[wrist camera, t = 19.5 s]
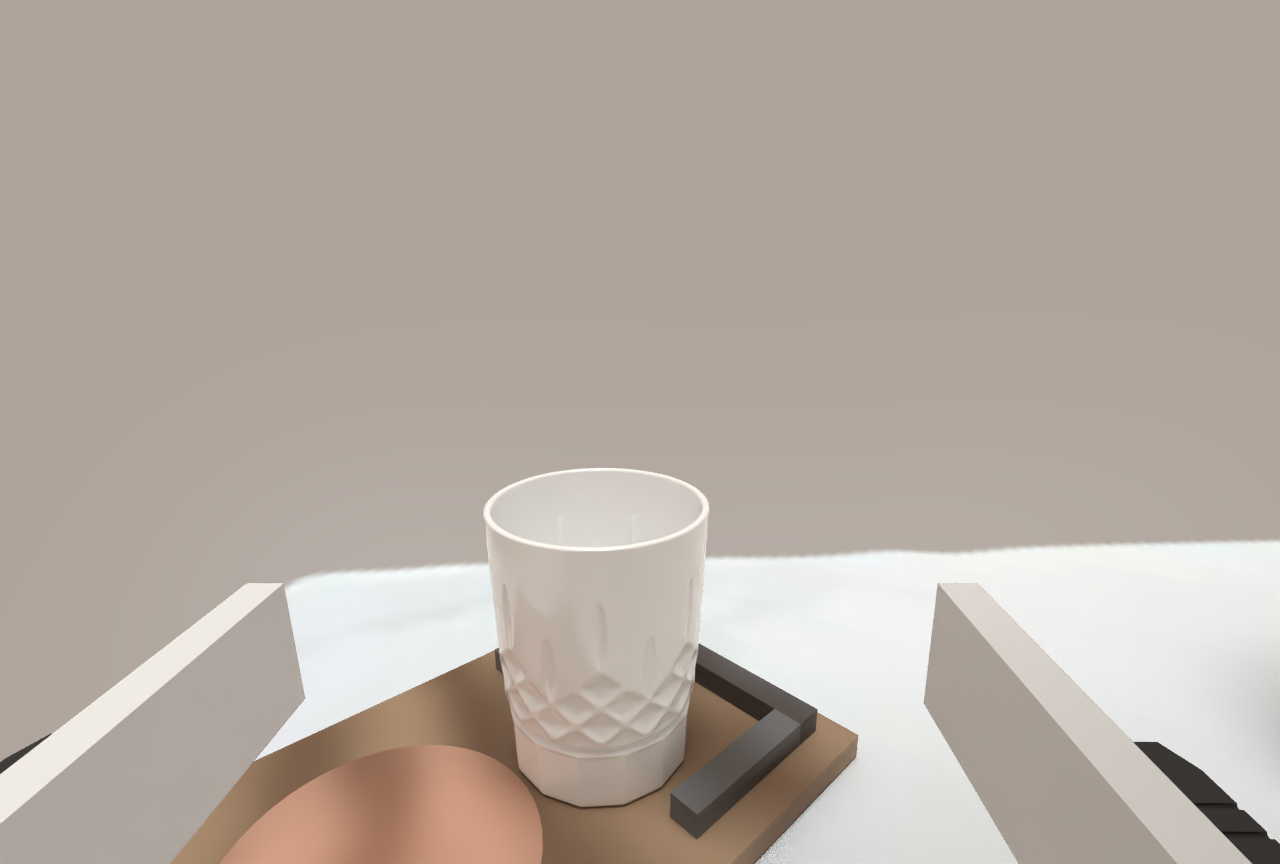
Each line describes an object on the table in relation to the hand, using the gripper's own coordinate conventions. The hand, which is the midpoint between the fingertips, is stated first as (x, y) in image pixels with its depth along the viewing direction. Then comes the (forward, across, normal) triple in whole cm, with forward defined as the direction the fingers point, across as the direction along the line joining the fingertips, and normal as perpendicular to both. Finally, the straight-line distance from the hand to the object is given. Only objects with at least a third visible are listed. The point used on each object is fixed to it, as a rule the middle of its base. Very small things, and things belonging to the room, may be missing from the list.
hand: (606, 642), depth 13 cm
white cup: (+10, -1, -11) cm, 15 cm away
